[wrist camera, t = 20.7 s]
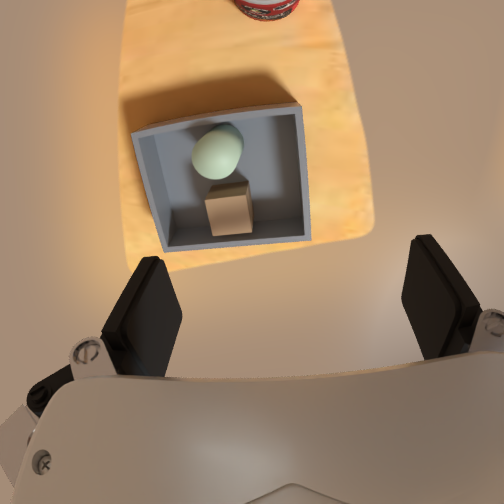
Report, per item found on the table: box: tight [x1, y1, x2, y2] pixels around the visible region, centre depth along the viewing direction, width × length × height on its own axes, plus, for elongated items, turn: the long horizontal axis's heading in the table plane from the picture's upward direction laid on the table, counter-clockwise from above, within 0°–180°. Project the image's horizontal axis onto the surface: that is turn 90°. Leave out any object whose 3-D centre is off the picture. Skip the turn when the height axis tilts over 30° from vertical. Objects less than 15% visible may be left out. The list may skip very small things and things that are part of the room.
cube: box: [205, 181, 254, 236], centre depth 40 cm, size 5×5×5 cm
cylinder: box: [192, 124, 244, 179], centre depth 35 cm, size 5×5×7 cm
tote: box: [131, 102, 311, 253], centre depth 38 cm, size 17×20×6 cm
